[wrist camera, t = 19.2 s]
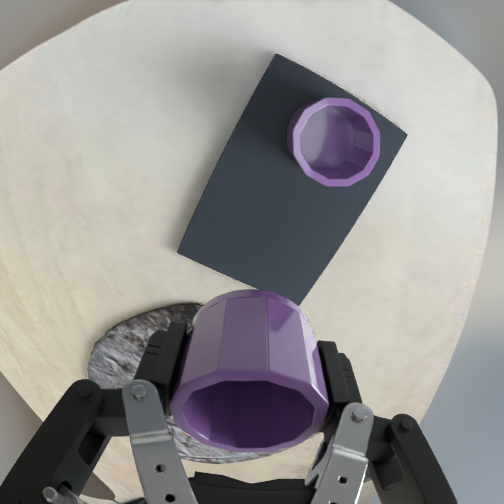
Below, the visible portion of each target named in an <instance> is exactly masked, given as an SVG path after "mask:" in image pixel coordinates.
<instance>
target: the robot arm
mask: <svg viewBox="0 0 504 504" xmlns="http://www.w3.org/2000/svg"><path fill="white" fill-rule="evenodd" d="M187 333H188V323H185V322H179V321H174V320H171V322H170V324H169V327H168V330H167V331H165V330H160V329H158V330H157V331H156V332H154V333H153V334H152V335H151V336H150V338H149V341H148V343H147V346H146V348H145V351H144V353H143V356H142V358H141V361H140V363H139V366H138V368H137V371H136V373H135V376H134V378H133V380H132V381H130V382H128V383H127V384H126V385H125V386H124V387H122V388H117V389H101V388H100V386H99V385H98V384H97V383H96V382H94V381H92V380H88V379H82V380H78V381H76V382H74V383H73V384H72V385H71V386H70V387H69V388H68V390H67V391H66V392H65V394H64V395H63V396H62V398H61V399H60V400H59V402H58V403H57V404H56V406H55V407H54V409H53V410H52V411H51V413H50V414H49V415H48V417H47V418H46V419H45V421H44V422H43V424H42V425H41V426H40V428H39V429H38V431H37V432H36V434H35V435H34V436H33V438H32V439H31V441H30V442H29V444H28V445H27V446H26V448H25V449H24V451H23V452H22V454H21V455H20V457H19V458H18V460H17V461H16V463H15V464H14V466H13V467H12V469H11V470H10V472H9V473H8V475H7V476H6V478H5V480H4V481H3V483H2V485H1V486H0V504H84V503H83V501H82V500H81V499H80V498H79V495H80V494H81V492H82V490H83V488H84V486H85V484H86V482H87V480H88V478H89V477H90V475H91V473H92V471H93V470H94V468H95V466H96V464H97V462H98V461H99V459H100V457H101V455H102V453H103V452H104V450H105V448H106V446H107V444H108V443H109V441H110V439H111V437H114V436H130V443H131V447H132V452H133V456H134V460H135V464H136V468H137V471H138V475H139V479H140V482H141V486H142V489H143V493H144V496H145V500H144V501H142V502H141V503H139V504H356V503H357V500H358V497H359V494H360V490H361V487H362V484H363V480H364V477H365V473H366V470H367V468H368V471H369V473H370V476H371V478H372V481H373V483H374V486H375V489H376V491H377V493H378V496H379V499H380V501H381V504H458V502H457V500H456V498H455V496H454V493H453V491H452V489H451V487H450V485H449V483H448V481H447V479H446V477H445V475H444V473H443V471H442V469H441V467H440V465H439V464H438V461H437V459H436V458H435V455H434V454H433V452H432V450H431V448H430V446H429V444H428V442H427V440H426V438H425V436H424V435H423V433H422V431H421V429H420V427H419V425H418V424H417V422H416V420H415V419H414V418H413V417H411V416H409V415H407V414H398V415H396V416H394V417H393V418H392V420H390V419H386V418H381V417H377V416H375V415H373V412H372V411H371V409H370V408H369V407H367V406H366V405H364V404H363V403H362V400H361V396H360V393H359V389H358V386H357V383H356V379H355V376H354V372H353V369H352V366H351V363H350V360H349V359H348V358H347V357H346V356H345V354H344V353H338V351H337V347H336V344H335V342H332V341H320V340H319V341H318V342H317V347H318V352H319V357H320V361H321V366H322V371H323V376H324V381H325V386H326V391H327V396H328V401H329V407H328V412H327V416H326V420H325V424H324V426H323V427H322V428H321V429H320V430H318V431H317V432H323V433H324V439H323V440H322V442H321V444H320V447H319V449H318V452H317V454H316V456H315V459H314V461H313V464H312V466H311V468H310V470H309V473H308V475H307V476H306V478H305V479H275V480H270V481H265V482H259V483H252V484H251V483H246V482H243V481H239V480H236V479H233V478H230V477H227V476H224V475H217V474H210V473H202V472H196V471H195V475H194V477H189V478H187V475H186V473H185V470H184V467H183V465H182V462H181V459H180V456H179V453H178V451H177V448H176V445H175V442H174V439H173V436H172V434H171V433H170V431H169V429H168V425H167V422H166V419H165V416H167V417H171V416H172V414H171V412H170V410H169V407H168V403H169V399H170V396H171V392H172V388H173V385H174V381H175V377H176V373H177V370H178V366H179V362H180V358H181V355H182V351H183V347H184V344H185V340H186V337H187Z"/></svg>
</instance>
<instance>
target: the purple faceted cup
mask: <svg viewBox="0 0 504 504" xmlns="http://www.w3.org/2000/svg"><path fill="white" fill-rule="evenodd" d="M168 407H169V410H170V412H171V414H172V416H173V419H174V421H175V423H176V425H177V427H178V428H179V429H181V430H182V431H183V432H185V433H186V434H188V435H189V436H191V437H192V438H194V439H195V440H197V441H199V442H200V443H202V444H205V445H208V446H212V447H216V448H219V449H223V450H227V451H231V452H245V453H251V452H272V451H276V450H280V449H283V448H287V447H290V446H294V445H297V444H300V443H302V442H304V441H305V440H306V439H308V438H309V437H310V436H312V435H313V434H314V433H316V432H317V431H318V430H320V429H321V428H322V427H323V426H324V424H325V420H326V416H327V412H328V407H329V401H328V396H327V391H326V386H325V381H324V376H323V371H322V366H321V361H320V357H319V352H318V347H317V343H316V338H315V334H314V332H313V331H312V329H311V325H310V322H309V320H308V318H307V316H306V315H305V313H304V312H303V311H302V310H301V309H300V308H299V307H298V306H297V305H296V304H295V303H293V302H292V301H290V300H289V299H287V298H285V297H283V296H281V295H278V294H275V293H272V292H268V291H263V290H249V289H247V290H237V291H232V292H228V293H225V294H222V295H220V296H218V297H215V298H214V299H212V300H210V301H209V302H207V303H206V304H205V305H204V306H203V307H202V308H201V309H200V310H199V311H198V312H197V314H196V315H195V317H194V319H193V322H192V324H191V328H190V330H189V332H188V334H187V337H186V340H185V344H184V347H183V351H182V355H181V358H180V362H179V366H178V370H177V373H176V377H175V381H174V385H173V388H172V392H171V396H170V399H169V403H168Z"/></svg>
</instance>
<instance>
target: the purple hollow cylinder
mask: <svg viewBox="0 0 504 504" xmlns="http://www.w3.org/2000/svg"><path fill="white" fill-rule="evenodd" d="M286 141H287V148H288V150H289V151H290V153H291V155H292V156H293V158H294V159H295V161H296V163H297V164H298V166H299V167H300V168H301V169H302V171H303V172H304V173H305V174H306V176H308V177H310V178H312V179H314V180H315V181H317V182H319V183H321V184H323V185H324V186H350V185H352V184H354V183H356V182H357V181H359V180H361V179H363V178H364V177H366V176H368V175H369V173H370V172H371V170H372V168H373V166H374V165H375V163H376V161H377V160H378V158H379V155H380V131H379V130H378V128H377V126H376V124H375V122H374V120H373V118H372V116H371V114H370V113H369V111H367V110H366V109H364V108H363V107H361V106H360V105H358V104H357V103H355V102H354V101H352V100H350V99H346V98H322V99H317V100H313V101H311V102H309V103H307V104H305V105H303V106H302V107H300V108H299V109H297V110H296V111H295V113H294V114H293V115H292V117H291V118H290V121H289V123H288V126H287V131H286Z"/></svg>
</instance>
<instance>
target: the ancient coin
mask: <svg viewBox="0 0 504 504" xmlns="http://www.w3.org/2000/svg"><path fill="white" fill-rule="evenodd" d="M202 307H203V306H200V305H197V304H193V305H181V306H172V307H169V308H166V309H158V310H155V311H152V312H149V313H145V314H142V315H140V316H137V317H135V318H133V319H131V320H128V321H126V322H124V323H121V324H119V325H117V326H114V327H113V328H112V329H111V330H109V331H107V332H106V333H105V335H104V337H103V338H102V339H101V340H99V341H98V342H97V343H95V346H94V350H93V351H92V352H91V360H90V362H89V364H88V377H89V380H92V381H94V382H96V383H97V384H98V385H99V386H100V388H101V389H117V388H122V387H124V386H125V385H126V384H127V383H128V382H130V381H132V380H133V378H134V376H135V373H136V371H137V368H138V366H139V363H140V361H141V358H142V356H143V353H144V351H145V348H146V346H147V343H148V341H149V338H150V336H151V335H152V334H153V333H154V332H156V331H157V330H158V329H160V330H165V331H167V330H168V327H169V324H170V322H171V320H174V321H179V322H185V323H188V332H189V330H190V328H191V324H192V322H193V319H194V317H195V315H196V314H197V312H198V311H199V310H200V309H201V308H202ZM187 334H188V333H187ZM165 419H166V422H167V425H168V429H169V431H170V433H171V434H172V436H173V439H174V442H175V445H176V448H177V451H178V453H179V456H180V458H182V459H186V460H190V461H196V462H202V463H212V464H223V463H234V462H241V461H248V460H253V459H258V458H262V457H266V456H270V455H273V454H276V453H279V452H282V451H284V450H287V449H289V448H291V447H293V446H290V447H287V448H283V449H280V450H276V451H272V452H251V453H245V452H231V451H227V450H223V449H219V448H216V447H212V446H208V445H205V444H202V443H200V442H199V441H197V440H195V439H194V438H192V437H191V436H189V435H188V434H186V433H185V432H183V431H182V430H181V429H179V428H178V427H177V425H176V423H175V421H174V419H173V416H171V417H167V416H165ZM318 433H319V432H316V433H314V434H313V435H312V436H310V437H309V438H311V437H313V436H315V435H317V434H318ZM309 438H308V439H309ZM306 440H307V439H306ZM297 445H298V444H297ZM294 446H295V445H294Z"/></svg>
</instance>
